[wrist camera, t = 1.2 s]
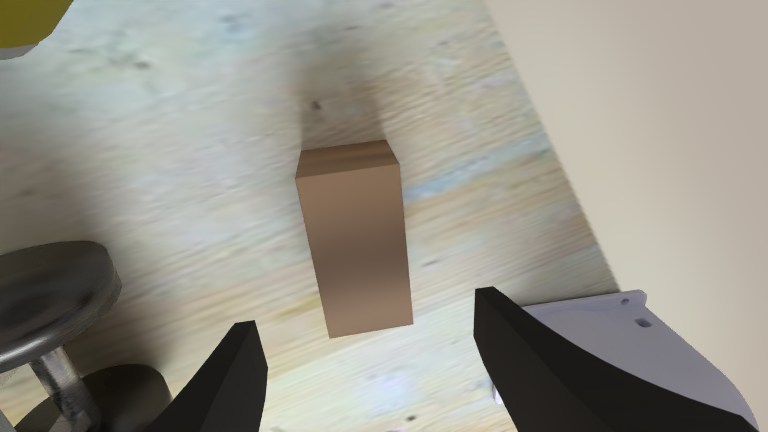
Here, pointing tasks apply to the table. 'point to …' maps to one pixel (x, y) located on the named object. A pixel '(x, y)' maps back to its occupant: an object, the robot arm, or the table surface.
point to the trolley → (60, 325)
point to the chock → (356, 235)
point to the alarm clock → (27, 24)
